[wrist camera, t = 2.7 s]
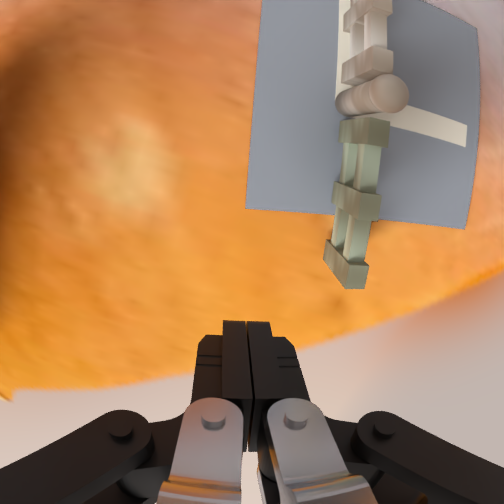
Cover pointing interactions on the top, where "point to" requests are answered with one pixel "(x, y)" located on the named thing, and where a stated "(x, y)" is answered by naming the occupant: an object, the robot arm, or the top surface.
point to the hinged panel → (356, 198)
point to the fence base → (369, 63)
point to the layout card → (401, 123)
